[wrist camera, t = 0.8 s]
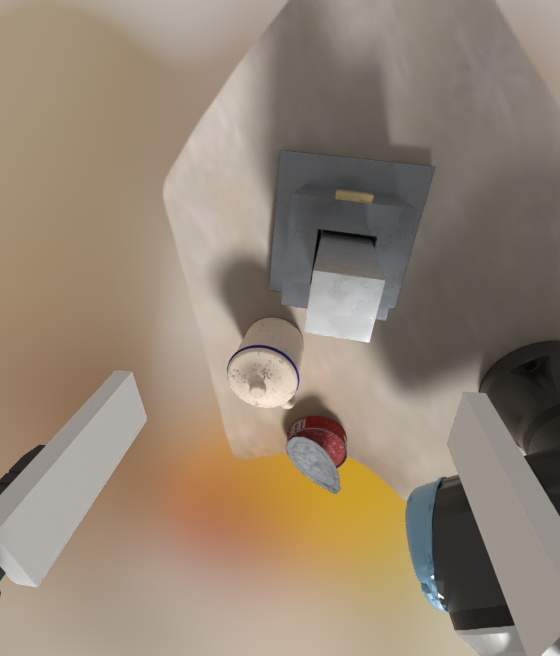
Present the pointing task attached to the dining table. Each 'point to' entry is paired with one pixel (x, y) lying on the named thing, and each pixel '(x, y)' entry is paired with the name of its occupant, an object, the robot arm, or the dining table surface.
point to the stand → (344, 217)
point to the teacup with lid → (267, 364)
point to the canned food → (318, 450)
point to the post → (344, 287)
